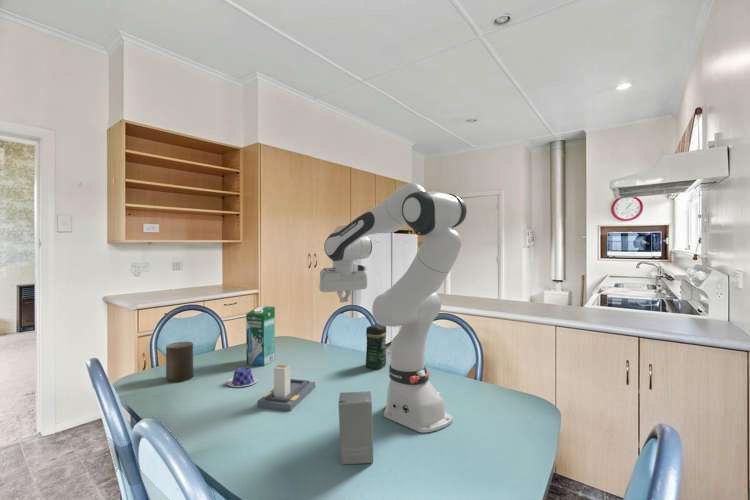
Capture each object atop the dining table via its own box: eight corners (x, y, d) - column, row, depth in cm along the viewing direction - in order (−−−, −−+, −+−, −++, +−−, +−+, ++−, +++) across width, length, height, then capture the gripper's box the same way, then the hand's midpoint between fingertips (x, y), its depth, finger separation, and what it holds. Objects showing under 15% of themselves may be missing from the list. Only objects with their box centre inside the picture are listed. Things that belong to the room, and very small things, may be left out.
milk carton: (246, 364, 162) (246, 308, 161) (258, 358, 170) (258, 305, 170) (263, 366, 159) (263, 309, 159) (275, 360, 168) (274, 306, 167)
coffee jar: (379, 371, 153) (379, 327, 153) (363, 368, 157) (363, 325, 156) (388, 364, 162) (388, 323, 162) (373, 361, 165) (373, 321, 165)
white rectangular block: (279, 392, 125) (279, 363, 125) (290, 393, 124) (290, 363, 124) (273, 397, 122) (273, 366, 121) (284, 398, 121) (284, 367, 120)
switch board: (286, 384, 138) (286, 377, 138) (315, 387, 136) (315, 379, 136) (257, 406, 119) (257, 398, 119) (290, 410, 116) (290, 402, 116)
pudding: (219, 385, 138) (219, 372, 138) (243, 375, 149) (242, 362, 149) (243, 391, 133) (243, 376, 133) (265, 379, 144) (265, 366, 144)
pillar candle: (192, 380, 142) (192, 342, 142) (163, 384, 138) (163, 345, 138) (194, 372, 151) (194, 337, 151) (168, 375, 147) (168, 339, 147)
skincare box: (372, 449, 94) (372, 389, 94) (373, 466, 87) (373, 401, 87) (340, 450, 94) (340, 390, 94) (338, 467, 87) (338, 401, 87)
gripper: (324, 268, 134) (324, 305, 134) (369, 266, 145) (369, 300, 146) (316, 267, 139) (316, 303, 139) (360, 266, 151) (361, 298, 151)
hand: (344, 302), depth 142 cm, fingers closed
